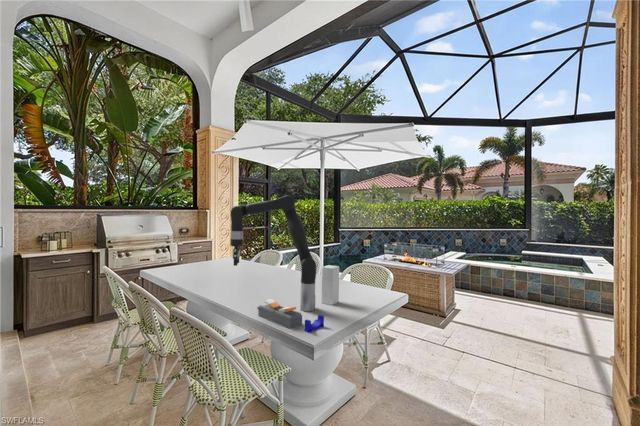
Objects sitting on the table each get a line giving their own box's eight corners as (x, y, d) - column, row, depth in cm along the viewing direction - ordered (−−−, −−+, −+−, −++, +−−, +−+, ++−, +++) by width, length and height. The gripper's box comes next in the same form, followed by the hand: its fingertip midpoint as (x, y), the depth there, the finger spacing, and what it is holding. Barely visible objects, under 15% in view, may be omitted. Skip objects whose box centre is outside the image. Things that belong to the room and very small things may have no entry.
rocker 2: (279, 311, 172) (278, 309, 172) (285, 309, 176) (285, 307, 176) (289, 311, 166) (289, 308, 166) (296, 308, 170) (296, 306, 170)
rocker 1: (264, 301, 181) (264, 300, 181) (270, 300, 185) (271, 298, 185) (273, 309, 175) (273, 307, 175) (280, 307, 179) (280, 305, 179)
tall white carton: (321, 302, 209) (322, 266, 209) (328, 299, 216) (328, 264, 216) (332, 305, 204) (333, 268, 204) (338, 302, 212) (339, 266, 211)
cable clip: (317, 324, 170) (317, 313, 170) (323, 326, 167) (324, 315, 167) (302, 330, 161) (302, 319, 161) (308, 332, 158) (308, 321, 158)
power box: (252, 313, 186) (252, 303, 186) (264, 309, 192) (264, 300, 192) (290, 328, 163) (290, 317, 163) (302, 324, 170) (302, 313, 170)
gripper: (241, 239, 181) (241, 266, 182) (244, 237, 196) (243, 262, 196) (228, 239, 180) (228, 266, 181) (232, 237, 195) (231, 262, 195)
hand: (236, 264), depth 188 cm, fingers open, 8 cm apart
